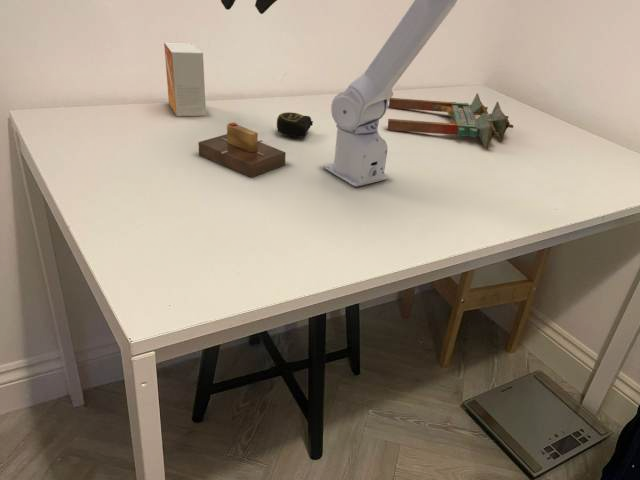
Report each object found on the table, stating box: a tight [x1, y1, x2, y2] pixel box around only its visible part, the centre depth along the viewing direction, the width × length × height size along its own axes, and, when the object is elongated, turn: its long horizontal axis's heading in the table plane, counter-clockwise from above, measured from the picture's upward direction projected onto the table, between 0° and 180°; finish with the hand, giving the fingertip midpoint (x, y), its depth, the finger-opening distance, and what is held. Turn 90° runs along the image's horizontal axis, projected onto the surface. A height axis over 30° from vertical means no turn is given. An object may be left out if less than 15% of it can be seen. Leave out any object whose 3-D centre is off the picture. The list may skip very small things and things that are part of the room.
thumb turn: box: [226, 121, 259, 153], centre depth 101 cm, size 6×2×4 cm, turn 58°
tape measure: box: [276, 111, 314, 138], centre depth 118 cm, size 7×7×4 cm
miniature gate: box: [387, 93, 514, 151], centre depth 137 cm, size 27×6×30 cm
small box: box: [163, 41, 207, 117], centre depth 118 cm, size 8×6×13 cm
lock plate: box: [198, 133, 287, 178], centre depth 103 cm, size 13×10×3 cm
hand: (242, 7), depth 103 cm, fingers open, 7 cm apart
